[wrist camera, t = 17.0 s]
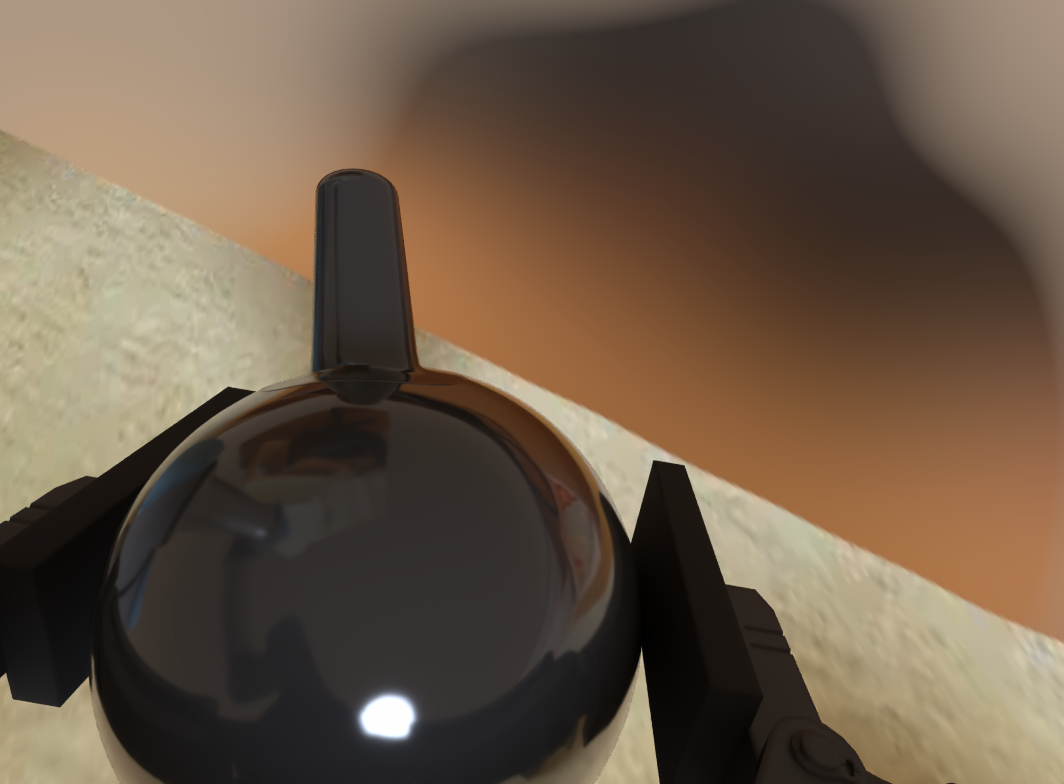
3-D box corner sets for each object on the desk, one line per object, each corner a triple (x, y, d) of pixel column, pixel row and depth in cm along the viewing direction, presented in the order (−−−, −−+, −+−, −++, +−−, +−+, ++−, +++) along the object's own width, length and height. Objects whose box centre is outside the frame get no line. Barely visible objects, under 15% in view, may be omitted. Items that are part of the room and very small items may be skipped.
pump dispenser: (583, 448, 21) (758, 99, 7) (618, 788, 18) (1123, 1404, 4) (291, 462, 21) (-140, 97, 7) (261, 821, 17) (-943, 1812, 3)
